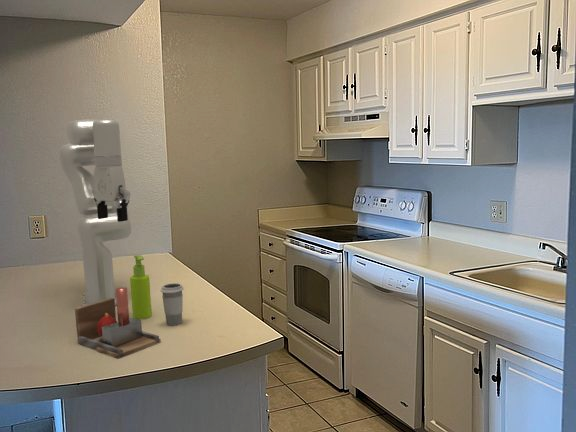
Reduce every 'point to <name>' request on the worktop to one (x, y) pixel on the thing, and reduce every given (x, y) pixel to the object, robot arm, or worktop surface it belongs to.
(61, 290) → the worktop surface
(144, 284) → the soap dispenser
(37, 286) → the worktop surface
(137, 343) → the frame
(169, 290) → the cup
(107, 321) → the onion
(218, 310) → the worktop surface
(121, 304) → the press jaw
